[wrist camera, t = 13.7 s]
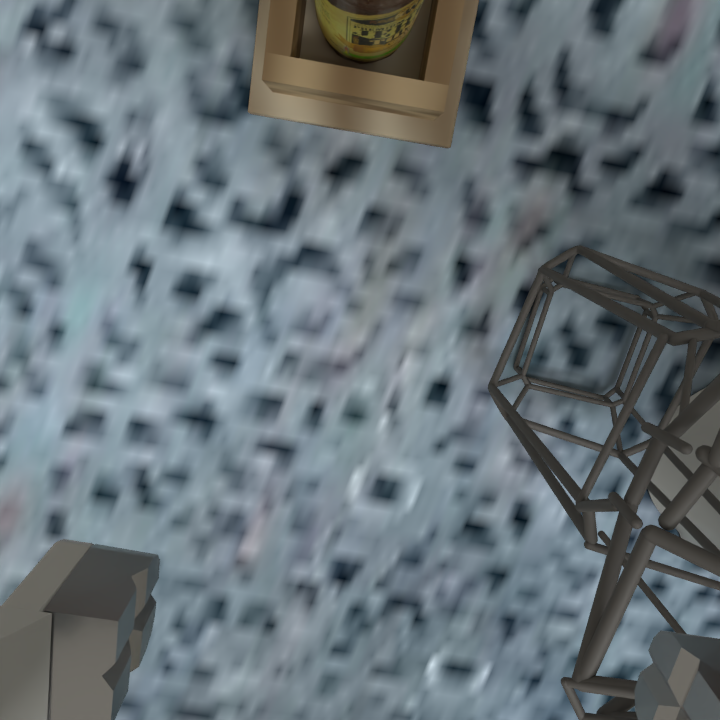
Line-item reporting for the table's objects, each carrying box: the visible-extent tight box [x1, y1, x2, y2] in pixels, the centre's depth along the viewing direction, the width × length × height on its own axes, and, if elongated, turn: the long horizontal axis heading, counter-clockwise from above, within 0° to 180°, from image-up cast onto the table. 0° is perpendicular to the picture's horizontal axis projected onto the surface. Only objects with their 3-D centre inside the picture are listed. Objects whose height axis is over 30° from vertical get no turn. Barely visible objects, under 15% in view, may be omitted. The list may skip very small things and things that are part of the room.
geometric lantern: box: [488, 245, 720, 720], centre depth 30 cm, size 16×16×35 cm
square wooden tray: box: [248, 0, 479, 148], centre depth 37 cm, size 14×14×6 cm
